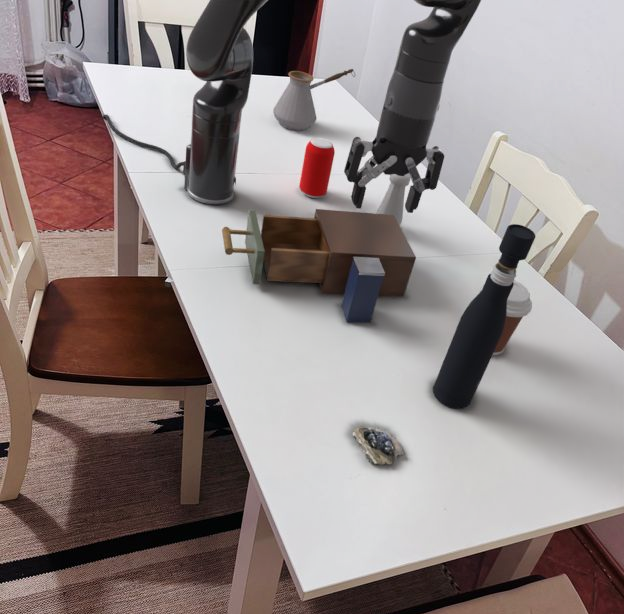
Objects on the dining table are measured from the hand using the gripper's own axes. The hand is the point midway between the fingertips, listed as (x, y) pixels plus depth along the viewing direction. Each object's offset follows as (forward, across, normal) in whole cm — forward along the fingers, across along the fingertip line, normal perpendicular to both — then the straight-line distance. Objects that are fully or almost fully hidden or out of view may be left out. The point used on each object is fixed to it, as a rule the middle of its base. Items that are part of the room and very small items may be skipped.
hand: (382, 208), depth 102 cm
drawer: (+20, +12, -13) cm, 27 cm away
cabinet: (+21, -3, -13) cm, 25 cm away
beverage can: (+21, 0, -43) cm, 48 cm away
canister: (+21, 0, 0) cm, 21 cm away
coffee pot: (+22, -6, -82) cm, 85 cm away
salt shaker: (+21, -14, -31) cm, 40 cm away
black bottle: (+21, -12, +20) cm, 31 cm away
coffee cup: (+21, -23, +8) cm, 32 cm away
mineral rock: (+21, +4, +30) cm, 37 cm away
